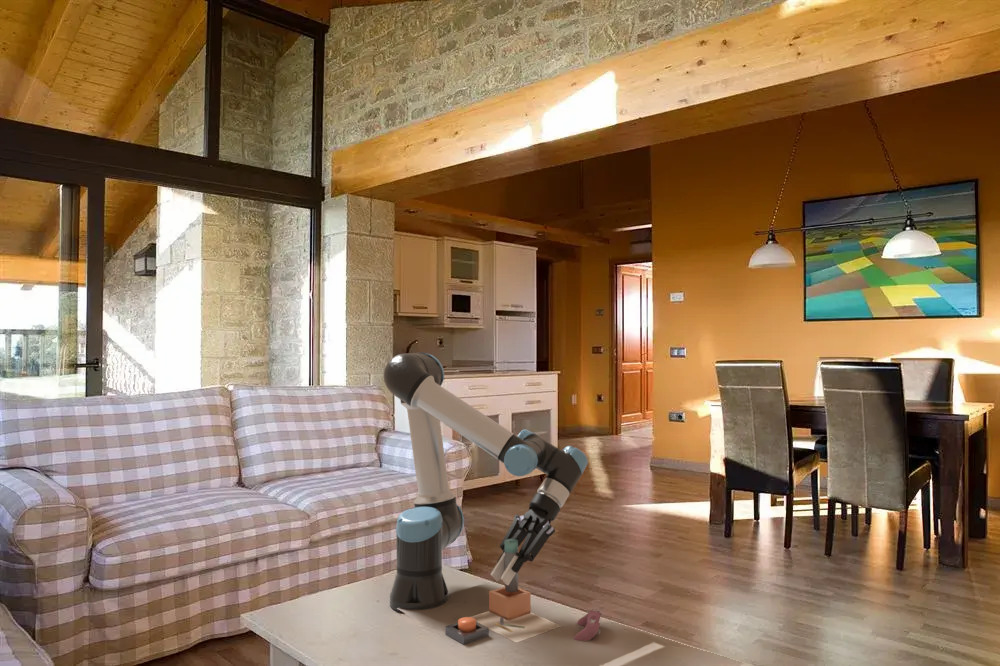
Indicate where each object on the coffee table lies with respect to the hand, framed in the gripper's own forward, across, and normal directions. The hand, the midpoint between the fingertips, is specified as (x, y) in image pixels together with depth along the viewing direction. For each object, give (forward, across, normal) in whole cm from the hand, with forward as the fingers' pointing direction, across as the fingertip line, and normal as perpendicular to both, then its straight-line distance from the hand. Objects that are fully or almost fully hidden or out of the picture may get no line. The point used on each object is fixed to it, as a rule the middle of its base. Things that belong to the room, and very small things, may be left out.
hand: (499, 579), depth 170 cm
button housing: (+16, -4, +2) cm, 16 cm away
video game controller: (0, -20, -14) cm, 24 cm away
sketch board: (+7, -5, -8) cm, 11 cm away
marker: (0, 0, -5) cm, 5 cm away
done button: (+14, -4, +3) cm, 15 cm away
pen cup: (+4, 0, -9) cm, 10 cm away
